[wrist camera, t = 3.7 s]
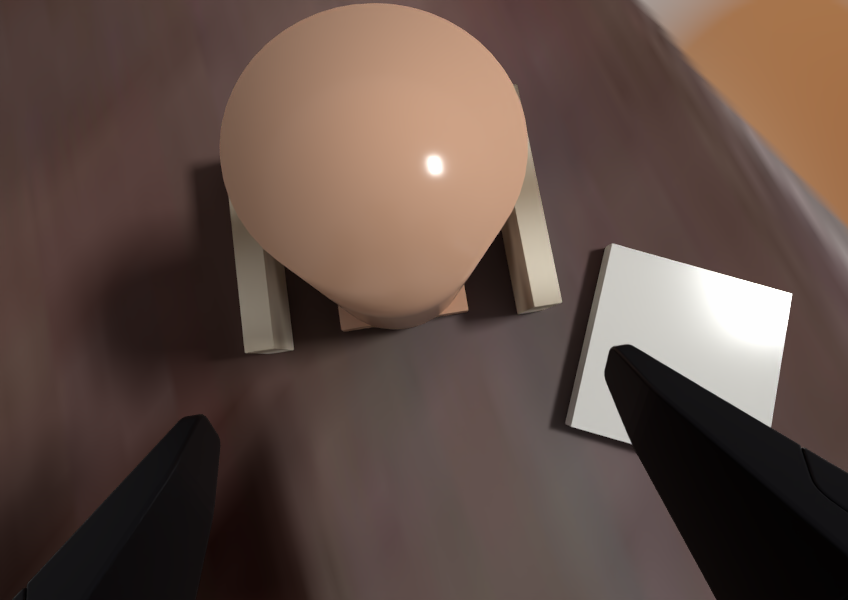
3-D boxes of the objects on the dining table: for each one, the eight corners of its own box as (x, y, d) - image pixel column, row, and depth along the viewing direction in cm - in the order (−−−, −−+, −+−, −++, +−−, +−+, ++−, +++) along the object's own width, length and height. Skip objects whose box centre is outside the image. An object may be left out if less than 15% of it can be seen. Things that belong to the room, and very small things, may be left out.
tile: (748, 476, 20) (762, 481, 19) (564, 423, 20) (570, 426, 20) (778, 296, 22) (792, 293, 21) (605, 247, 22) (612, 243, 21)
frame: (541, 310, 21) (562, 302, 18) (269, 354, 21) (244, 353, 18) (503, 120, 23) (517, 83, 20) (247, 155, 22) (221, 123, 19)
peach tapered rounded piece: (475, 319, 21) (555, 265, 9) (337, 341, 21) (235, 315, 9) (452, 188, 22) (497, -14, 10) (320, 207, 22) (206, 22, 10)
